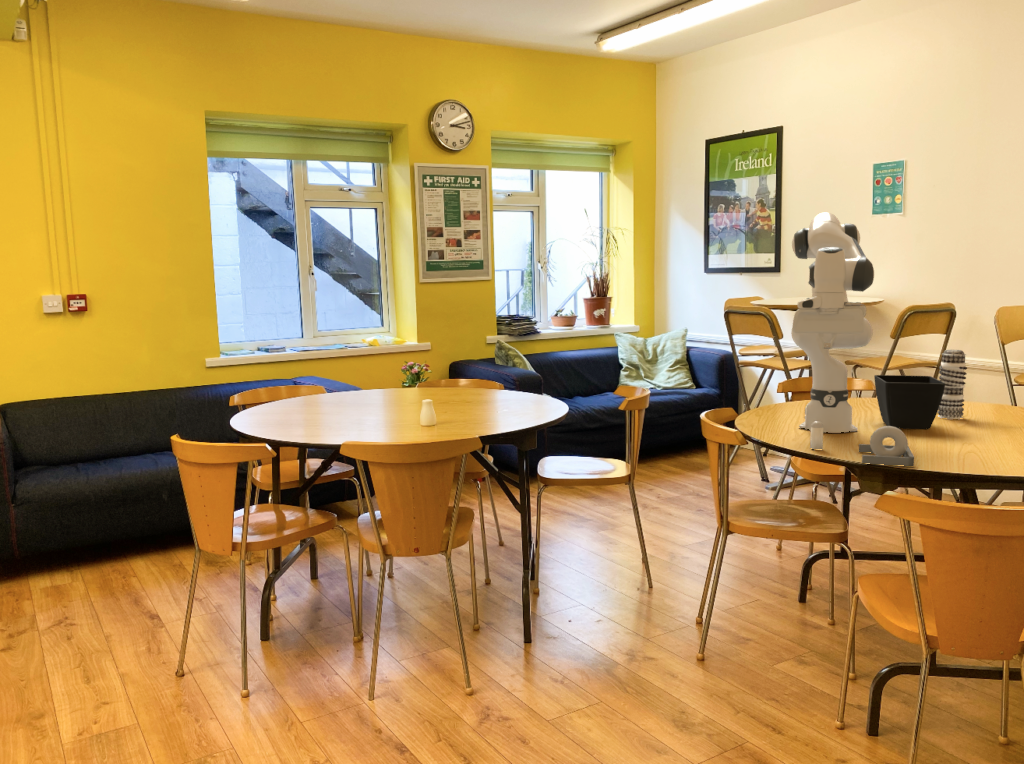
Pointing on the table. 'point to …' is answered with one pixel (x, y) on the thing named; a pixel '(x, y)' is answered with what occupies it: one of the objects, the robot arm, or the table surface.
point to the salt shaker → (816, 435)
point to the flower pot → (908, 400)
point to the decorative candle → (952, 384)
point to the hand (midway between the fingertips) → (827, 348)
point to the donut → (890, 432)
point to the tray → (886, 457)
